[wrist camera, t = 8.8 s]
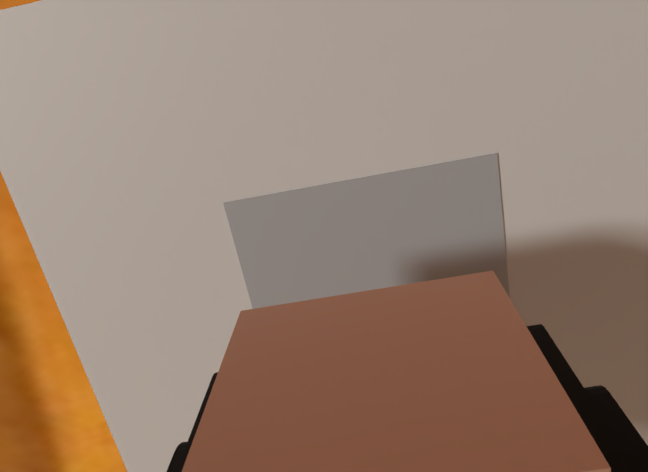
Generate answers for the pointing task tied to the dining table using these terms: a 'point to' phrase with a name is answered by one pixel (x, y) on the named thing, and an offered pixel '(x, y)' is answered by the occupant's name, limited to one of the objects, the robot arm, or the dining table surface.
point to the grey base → (323, 175)
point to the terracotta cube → (391, 388)
